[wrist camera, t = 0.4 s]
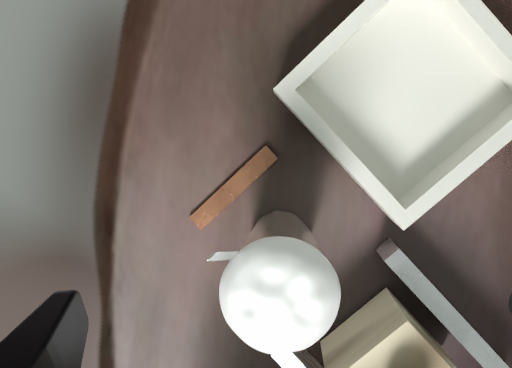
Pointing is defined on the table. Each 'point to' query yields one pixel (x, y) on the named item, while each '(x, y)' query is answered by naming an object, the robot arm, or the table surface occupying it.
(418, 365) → the slider
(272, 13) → the table surface
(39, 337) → the robot arm
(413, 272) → the slide rails
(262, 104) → the table surface
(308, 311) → the milkshake
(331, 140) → the tray
